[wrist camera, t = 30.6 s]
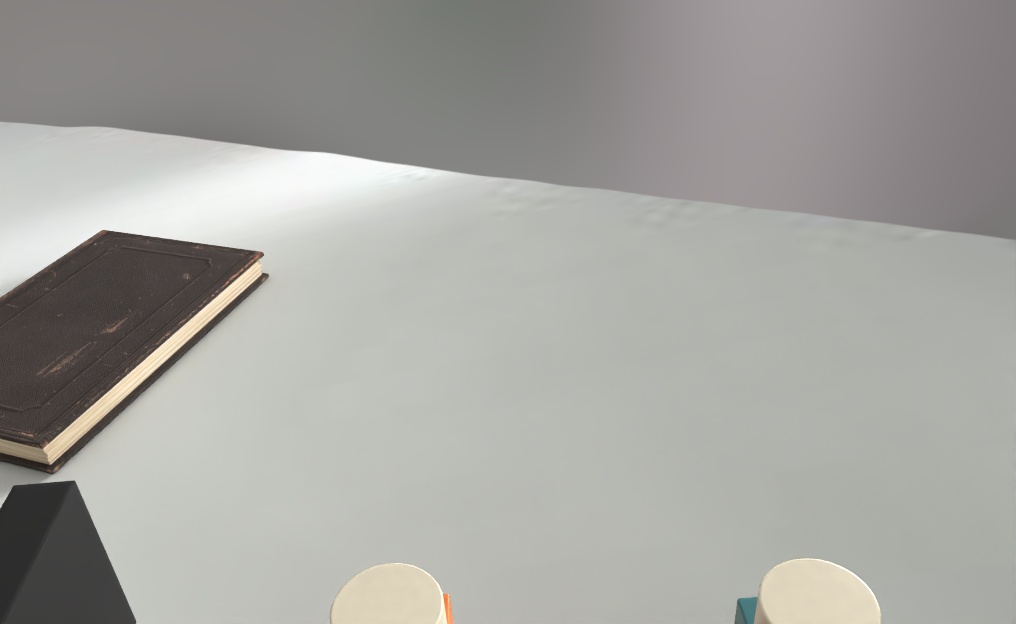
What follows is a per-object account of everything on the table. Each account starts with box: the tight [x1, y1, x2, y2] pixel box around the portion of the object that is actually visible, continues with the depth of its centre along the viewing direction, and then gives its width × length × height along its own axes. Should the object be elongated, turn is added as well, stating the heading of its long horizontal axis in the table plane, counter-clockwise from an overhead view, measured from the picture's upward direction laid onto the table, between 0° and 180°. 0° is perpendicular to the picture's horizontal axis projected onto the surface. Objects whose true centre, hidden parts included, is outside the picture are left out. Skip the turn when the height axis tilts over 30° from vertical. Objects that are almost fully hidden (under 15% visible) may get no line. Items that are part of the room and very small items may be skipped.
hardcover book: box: [0, 230, 269, 473], centre depth 63 cm, size 16×23×2 cm
